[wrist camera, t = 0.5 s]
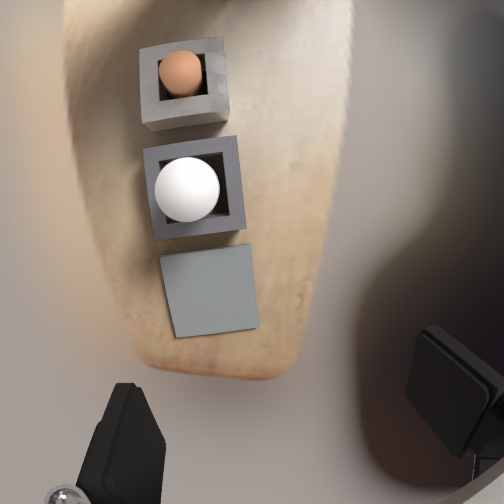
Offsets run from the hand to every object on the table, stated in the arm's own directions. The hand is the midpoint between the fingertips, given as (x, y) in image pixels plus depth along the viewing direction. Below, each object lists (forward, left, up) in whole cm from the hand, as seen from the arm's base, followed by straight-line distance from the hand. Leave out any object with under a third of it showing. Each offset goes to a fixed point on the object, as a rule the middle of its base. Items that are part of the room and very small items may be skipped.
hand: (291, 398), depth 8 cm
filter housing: (-6, -4, -28) cm, 29 cm away
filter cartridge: (-6, -4, -28) cm, 29 cm away
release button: (-18, -4, -25) cm, 31 cm away
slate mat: (+7, -4, -28) cm, 29 cm away
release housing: (-18, -4, -28) cm, 34 cm away
